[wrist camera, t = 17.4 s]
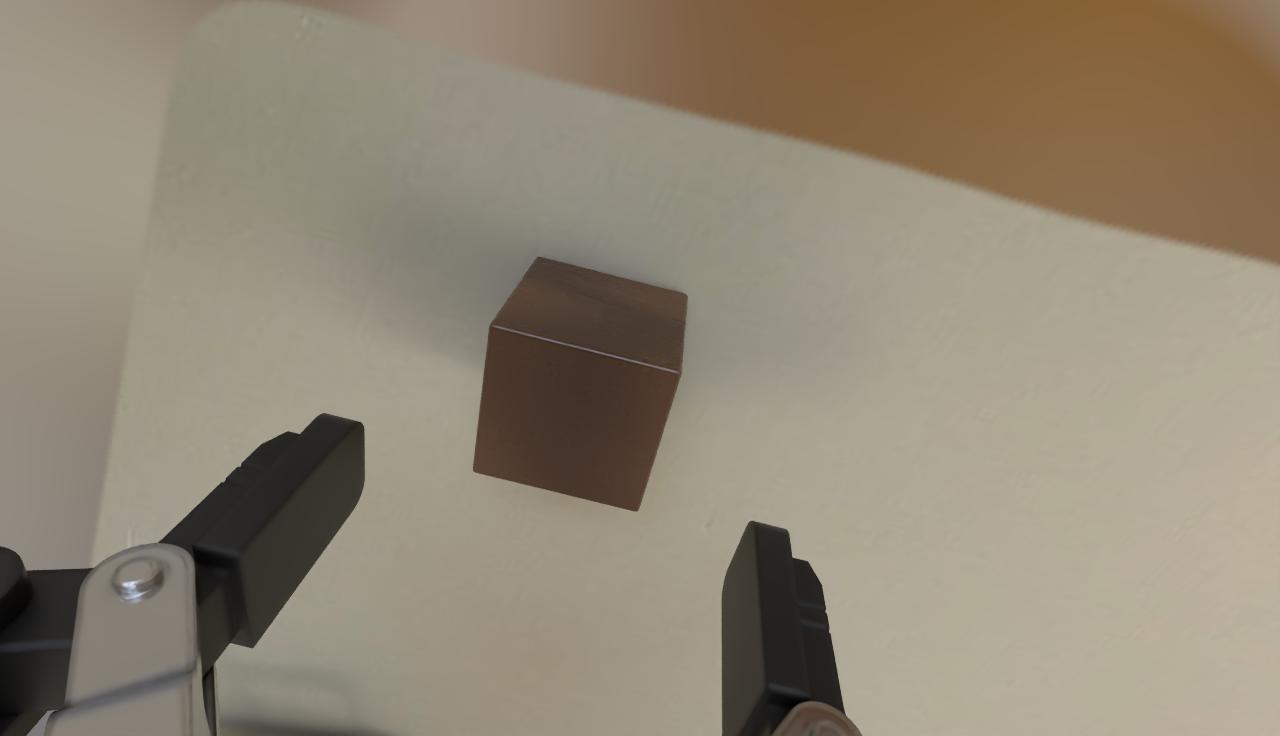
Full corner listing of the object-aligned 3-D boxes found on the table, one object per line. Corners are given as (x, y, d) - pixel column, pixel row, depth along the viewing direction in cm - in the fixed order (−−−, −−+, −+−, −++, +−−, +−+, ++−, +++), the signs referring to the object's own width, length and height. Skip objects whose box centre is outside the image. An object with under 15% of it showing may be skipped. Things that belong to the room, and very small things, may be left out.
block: (517, 383, 20) (471, 472, 16) (537, 255, 18) (488, 323, 14) (652, 416, 20) (638, 514, 16) (689, 293, 18) (682, 372, 14)
